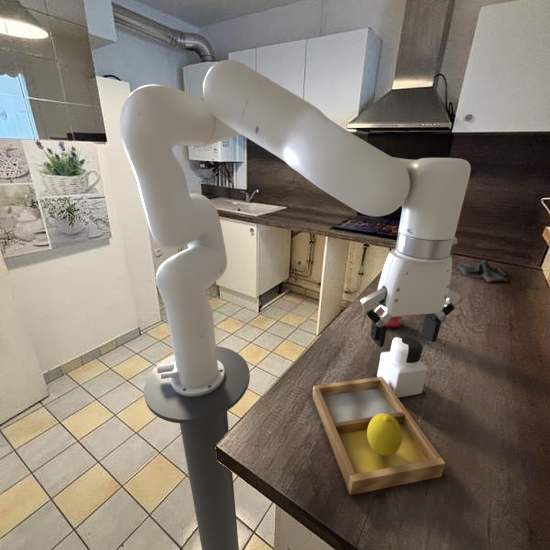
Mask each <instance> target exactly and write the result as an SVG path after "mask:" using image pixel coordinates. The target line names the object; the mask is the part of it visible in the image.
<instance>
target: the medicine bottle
mask: <svg viewBox="0 0 550 550" xmlns="http://www.w3.org/2000/svg"><path fill="white" fill-rule="evenodd" d="M423 349H424V347H423V345H422V343H421V342H420V341H419V340H417V339H416V338H414V337H411V336H407V335H398V336H395V337H393V339H392V341H391V346H390V350H389V351H382V352H381V353H380V356H379V363H378V367H377V368H378V369H377V373H376V377H383V378H384V380H385V381H386V383H387V384H388V385H389V387H390V388H391V389H392V391H393V392H394V394H395V395H396V396H397V398H398V399H399V398H404V397H409V396H414V395H419V394H422V393H423V390H424V385H425V382H426V378H427V375H428V371H429V368H428V367H427V365H425V363H424V362H422V361H421V359H422V354H423Z"/></svg>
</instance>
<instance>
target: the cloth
mask: <svg viewBox="0 0 550 550" xmlns="http://www.w3.org/2000/svg"><path fill="white" fill-rule="evenodd" d="M458 270H459V271H460V272H461V274H462V275H463V276H466V277H470V278H474V279H480V280H485V281H486V282H489V283H497V282H508V281H509V280H508V279H507V278H506V277H505V276H507V273H506V272H505V271H504V270H502V269H501V268H500V267H497V266H494V265H491V264H490V263H489V261H488V260H486V259H484V260H483V259H482V260H481V261H480V262H479V263H476V262H466V263H464V264H462V266H460V267H459V268H458Z"/></svg>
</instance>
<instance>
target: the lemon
mask: <svg viewBox="0 0 550 550" xmlns="http://www.w3.org/2000/svg"><path fill="white" fill-rule="evenodd" d="M367 438H368V441H369V444H370V446H371V447H372V449H373V450H374V451H375V452H377V453H378V454H380V455H384V456H389V455H393V454H394V453H396V452H397V450H398V449H399V448H400V445H401V442H402V431H401V427H400V425H399V423H398V422H397V420H396V419H395V418H394V417H392V416H390V415H388V414H378V415H376V416H374V417H373V418H372V419H371V421H370V423H369V425H368V429H367Z"/></svg>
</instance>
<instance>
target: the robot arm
mask: <svg viewBox="0 0 550 550" xmlns="http://www.w3.org/2000/svg"><path fill="white" fill-rule="evenodd" d="M202 92H203V94H201V95H196V94H193V93H191V92H187V91H184V90H181V89H178V88H176V87H172V86H168V85H162V84H146V85H142V86H139V87H138V88H136V89H135V90H133V91H132V92H131V93H130V94H129V95H128V96H127V98H126V99H125V101H124V103H123V105H122V108H121V112H120V117H119V131H120V137H121V141H122V145H123V148H124V150H125V153H126V156H127V159H128V161H129V164H130V165H131V168H132V171H133V173H134V175H135V179H136V182H137V183H136V184H137V186H138V191H139V194H140V198H141V202H142V205H143V209H144V214H145V216H146V221H147V225H148V228H149V230H150V234H151V236H152V238H153V240H154V241H155V243H156V244H157V245H158V246H159V247H161V248H163V249H166V250H175V249H180V248H182V247H185V246H187V248H186V249H184V250H181V251H179V252H177V253H176V254H174V255H172V256H170V257H169V258H167V259H166V260H165V261H163V262H162V263H161V264H160V266H159V267H158V269H157V271H156V275H155V282H156V287H157V289H158V293H159V294H160V297H161V300H162V302H163V305H164V308H165V312H166V317H167V323H168V328H169V334H170V340H171V346H172V351H173V354H174V359H175V362H172V363H171V364H162V365H158V364H157V365H158V366H157V365H156V366H157V372H158V373H161V379H165V378H171V384H172V387H173V389H174V390H175V391H176V392H177V393H179V394H181V395H184V396H193V397H194V396H201V395H204V394H207V393H209V392H211V391H213V390H215V389H216V388H217V387H218V386H219V385H220V384H221V383H222V381H223V380H224V377H225V369H224V366H223V364H222V363H221V362H220V361H218V360H217V352H216V346H217V344H216V333H215V331H216V330H215V322H214V313H213V309H212V305H211V303H210V302H209V300H208V299H207V297H206V291H207V289H209V288H210V287H211V286H212V285H213V284H214V283H216V282H217V281H218V280H219V279H220V278H222V276H223V275H224V274H225V272H226V270H227V267H228V256H227V251H226V245H225V240H224V234H223V230H222V224H221V218H220V215H219V212H218V210H217V208H216V206H215V204H214V203H213V202H212V201H211V200H210V199H209V198H208V197H207V196H205V195H203V194H200V193H190V191H189V187H188V183H187V177H186V174H185V170H184V169H183V166H182V164H181V163H180V161H179V159H178V158H177V156H176V155H175V153H174V151H173V148H174V147H176V146H183V147H205V146H210V145H213V144H214V145H215V144H216V143H220V142H223V141H226V140H229V139H232V138H235V137H239V136H243V137H245V138H246V139H248V140H250V141H252V142H254V144H256V145H258V146H259V147H261V148H263V149H265V150H266V151H268V152H269V153H271V154H272V155H274V156H276V157H277V158H279V159H280V160H282V161H283V162H285V163H286V164H287V165H288V166H289V167H290V168H291V169H293V170H294V171H296V172H297V173H298V174H300V175H301V176H303V177H304V178H305V179H306V180H308V181H309V183H312V184H313V186H316V187H317V188H319V189H320V190H321V191H323V192H325V193H326V194H327V195H329V196H331V197H332V198H335V199H336V200H338V201H339V202H341V203H342V204H344V205H345V206H347V207H349V208H350V209H352V210H354V211H356V212H358V213H360V214H362V215H364V216H365V215H366V216H369V217H375V218H377V217H384V216H387V215H391V214H392V213H394V212H396V211H397V210H398V209H399V208H400V207H401V215H400V220H399V225H398V232H397V237H396V243H395V249H394V250H390V251H389V253H388V255H387V257H386V260H385V261H384V263H383V267H382V270H381V274H380V278H379V281H378V285H377V289H376V291H373V292H371V293H370V294H368V295H366V296H364V297H362V298H361V299H360V300H359V303H360V305H361V307H362V310H363V312H364V314H365V315H366V316H367V318H368V319H370V320H371V327H370V333H369V334H370V338H371V340H372V341H374V343H375V344H376V346H377V347H378V348H383V347H384V346H385V341H386V336H387V330H388V328H387V327H386V326H385V324H386V323H387V322H388V321H389V320H390V319H391V318H392V317H393V316H401V317H407V316H418V315H419V316H420V315H421V316H422V315H424V320H423V324H422V327H421V333H422V334H423V336H424V337H426V338H427V339H428V340H429V341H430V342H431V343H437V341H438V337H439V332H440V329H441V326H442V323H444V322H445V321H446V320H447V316H448V315H449V314H450V313H452V312H453V311H454V310H455V306H457V304H458V303H459V302H460V300H461V299H462V297H463V296H462V294H460V293H459V292H457V291H455V290H453V289H451V287H450V286H451V280H452V272H453V271H452V270H453V256H452V255H451V252H452V247H453V246H457V244H458V241H459V240H458V238H457V237H456V232H457V228H458V224H459V221H460V216H461V212H462V208H463V204H464V199H465V197H466V192H467V189H468V185H469V181H470V178H471V177H470V176H471V171H472V167H471V164H470V162H469V161H468V160H466V159H464V158H457V157H422V158H418V159H412V158H411V159H408V158H401V157H400V158H399V157H394V156H391V155H389V154H387V153H385V152H384V151H382V150H380V149H379V148H377V147H375V146H374V145H372V144H371V143H369V142H368V141H365V140H363V139H362V138H360V137H358V136H357V135H356V134H354V133H352V132H350V131H349V130H348V129H346V128H345V127H343V126H341V125H339V124H337V123H336V122H335V121H333V120H332V119H331V118H329V117H327V115H325V114H324V112H323V111H321V110H320V109H319V108H317V107H316V106H315V105H313V104H312V103H311V102H309V101H307V100H306V99H304V98H301V97H300V96H298V95H296V94H295V93H293V92H292V91H290V90H289V89H287V88H284V87H283V86H281V84H279V83H276V82H275V81H273V80H271V79H270V78H268V77H267V76H265V75H264V74H262V73H260V72H258V71H257V70H255V69H253V68H252V67H250V66H248V65H246V64H245V63H243V62H240V61H238V60H233V59H224V60H221V61H218V62H216V63H214V64H213V65H212V66H211V67H210V68H208V71H207V72H206V74H205V77H204V80H203V84H202ZM376 304H377V305H378V306H377V307H376V308H375V309H374V307H373V306H374V305H376ZM384 311H386V312H385V313H384V314H383V315H382V316H381V317H379V316H380V315H381V314H382V313H383V312H384ZM169 371H171V372H169Z"/></svg>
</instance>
